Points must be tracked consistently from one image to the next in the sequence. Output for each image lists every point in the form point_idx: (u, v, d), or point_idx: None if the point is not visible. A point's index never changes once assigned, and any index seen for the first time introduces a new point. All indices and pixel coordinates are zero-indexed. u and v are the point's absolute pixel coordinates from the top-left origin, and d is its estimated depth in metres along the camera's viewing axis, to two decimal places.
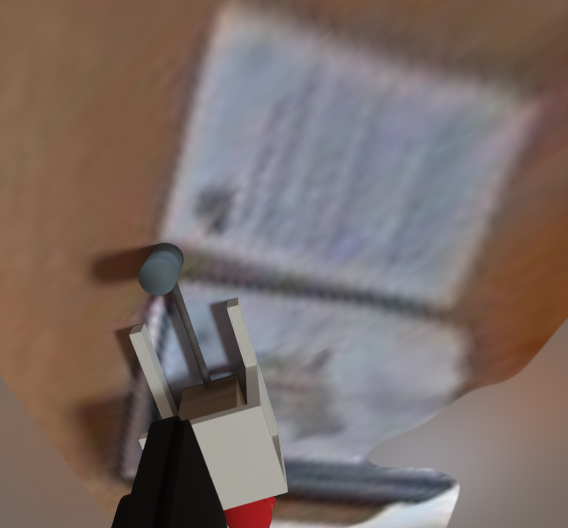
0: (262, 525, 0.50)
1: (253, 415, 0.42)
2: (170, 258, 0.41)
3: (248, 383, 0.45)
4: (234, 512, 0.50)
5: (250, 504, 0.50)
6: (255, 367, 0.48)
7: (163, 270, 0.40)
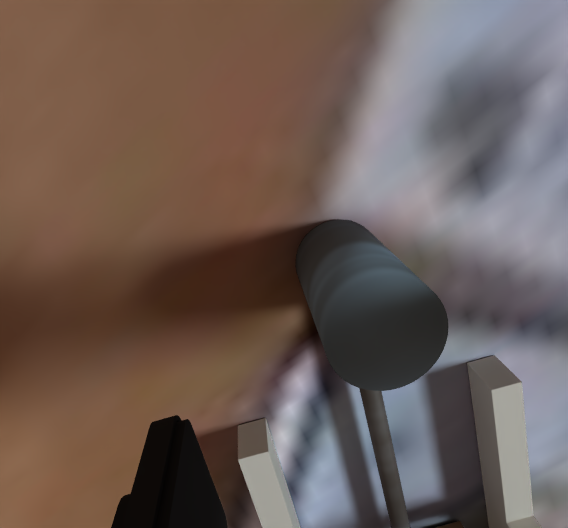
0: None
1: None
2: (407, 267, 0.13)
3: None
4: None
5: None
6: (535, 525, 0.20)
7: (410, 310, 0.12)
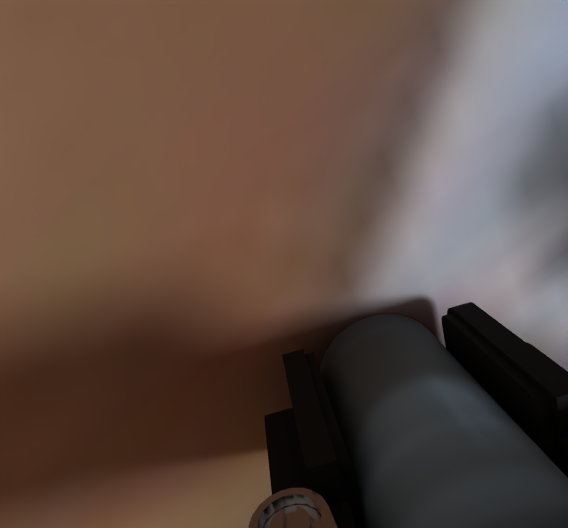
0: None
1: None
2: (530, 440, 0.07)
3: None
4: None
5: None
6: None
7: None
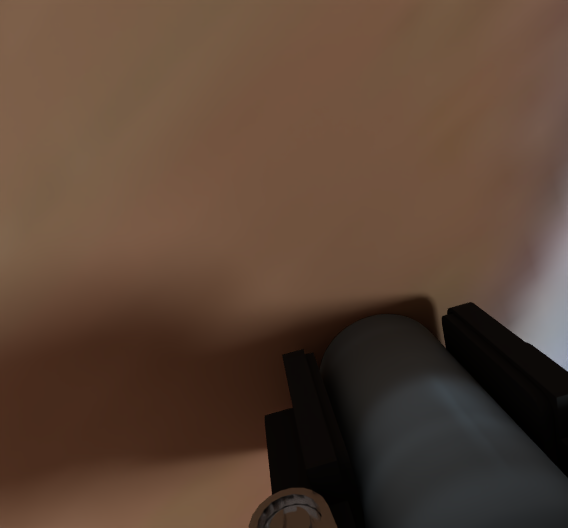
0: None
1: None
2: (531, 440, 0.07)
3: None
4: None
5: None
6: None
7: None
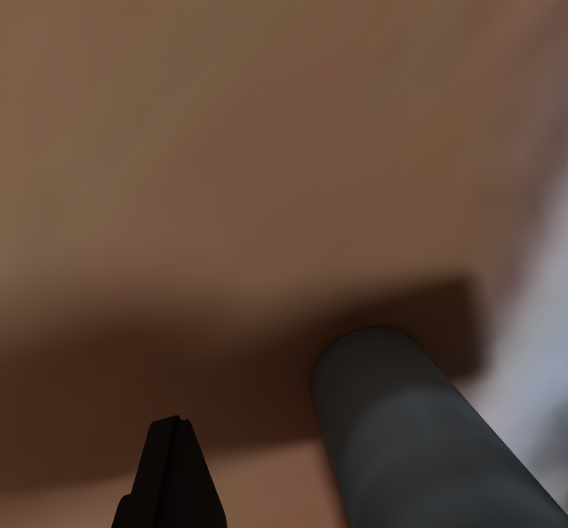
0: None
1: None
2: (508, 449, 0.08)
3: None
4: None
5: None
6: None
7: None
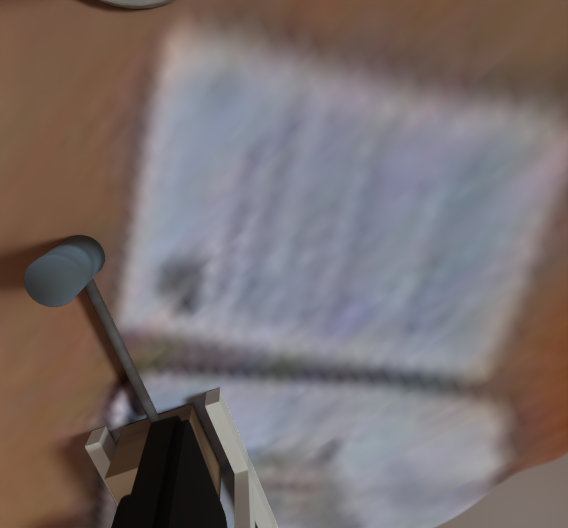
0: None
1: None
2: (73, 254, 0.30)
3: (237, 502, 0.36)
4: None
5: None
6: (246, 473, 0.38)
7: (58, 271, 0.28)
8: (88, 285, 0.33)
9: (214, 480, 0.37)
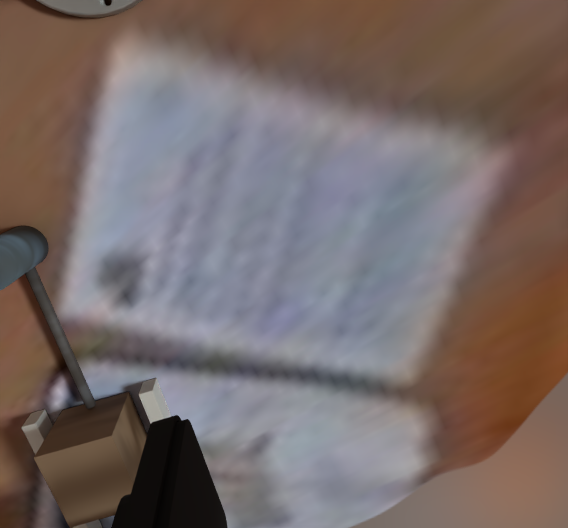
0: None
1: None
2: (11, 244, 0.32)
3: None
4: None
5: None
6: None
7: None
8: (29, 273, 0.35)
9: None
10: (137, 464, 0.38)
